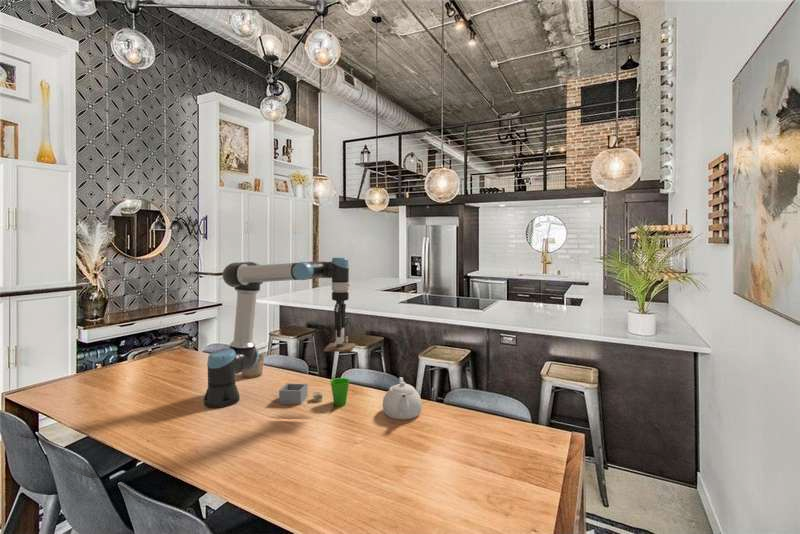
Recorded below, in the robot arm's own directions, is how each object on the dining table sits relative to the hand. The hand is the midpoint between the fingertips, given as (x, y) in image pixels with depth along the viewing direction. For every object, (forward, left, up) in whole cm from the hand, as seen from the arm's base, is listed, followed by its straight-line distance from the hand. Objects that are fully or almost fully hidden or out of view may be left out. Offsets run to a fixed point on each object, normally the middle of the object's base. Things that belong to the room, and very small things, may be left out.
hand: (340, 342), depth 181 cm
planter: (-59, +38, -29) cm, 76 cm away
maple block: (-11, +2, -29) cm, 31 cm away
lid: (0, 0, -3) cm, 3 cm away
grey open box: (-22, +1, -28) cm, 36 cm away
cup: (0, 0, -29) cm, 29 cm away
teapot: (+29, -6, -29) cm, 41 cm away
